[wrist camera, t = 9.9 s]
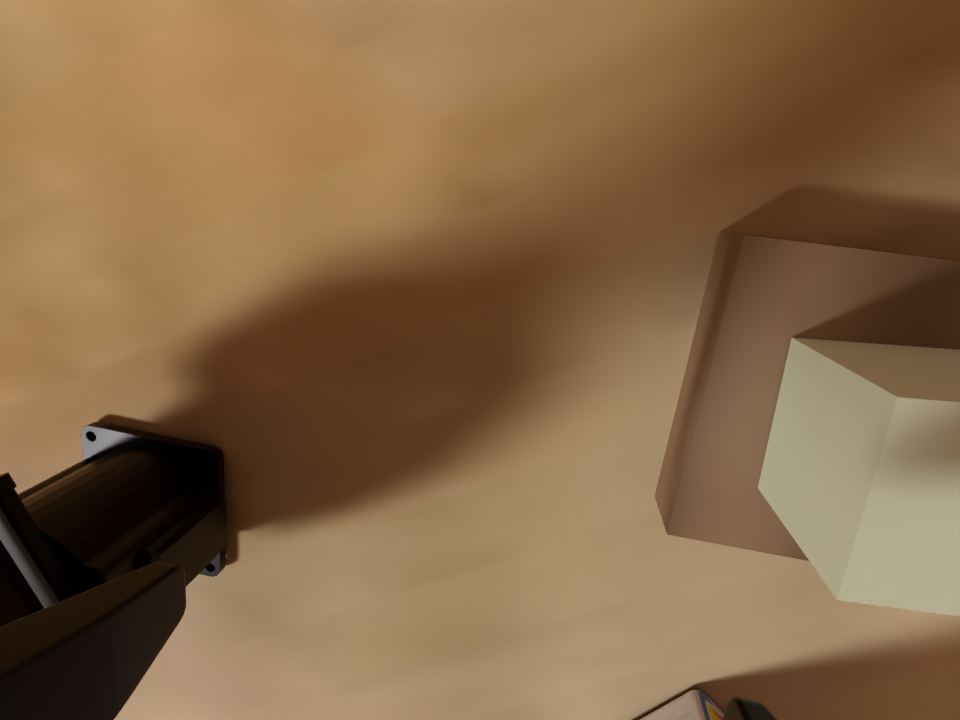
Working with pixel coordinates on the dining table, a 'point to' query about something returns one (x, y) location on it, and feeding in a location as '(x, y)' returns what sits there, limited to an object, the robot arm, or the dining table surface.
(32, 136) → the dining table surface
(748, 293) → the walnut board
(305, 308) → the dining table surface
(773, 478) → the sage cube
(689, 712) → the ink cartridge box
